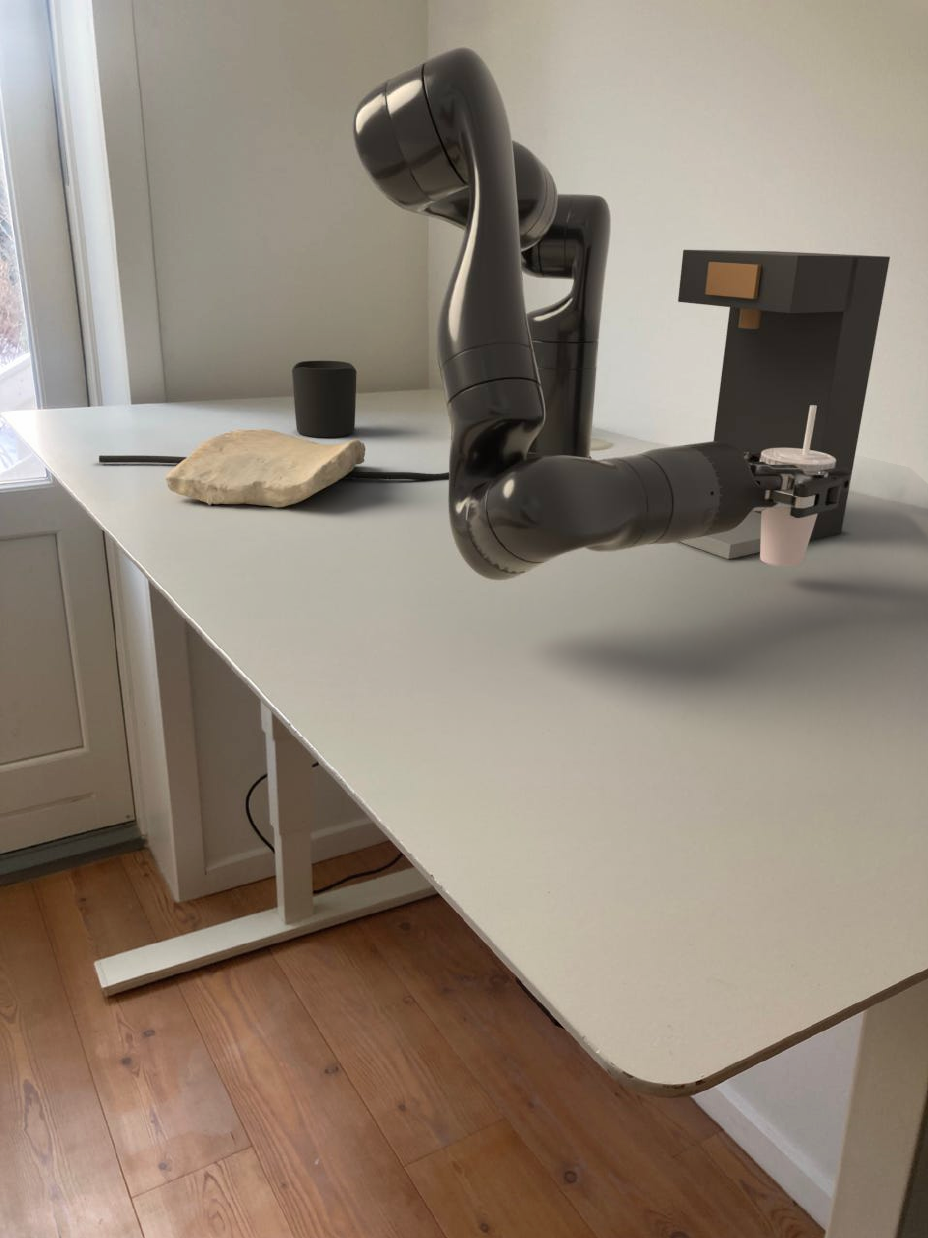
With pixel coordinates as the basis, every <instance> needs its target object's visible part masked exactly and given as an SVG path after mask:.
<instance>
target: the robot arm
mask: <svg viewBox="0 0 928 1238" xmlns="http://www.w3.org/2000/svg"><path fill="white" fill-rule="evenodd" d="M508 117H509V116H508V113H507V109H506V107H505V103H504V99H503V97H502V93H501V91H500V90H499V87H498V85H497V82H496V80H495V78H494V76H493V74H492V72H491V71H490V69H489V66H488V65H487V64H486V62H485V61H484V59H483V58H482V57H481V56H480V54H478V52H476V51H475V50H474V49H471V48H469V47H466V46H464V47H463V46H461V47H456V48H453V49H449V50H447V51H445V52H443V53H441V54H438V55H435V56H434V57H432V58H429V59H427V60H426V61H423V62H420V63H418V64H416V65H415V66H413V67H411V68H408V69H407V70H405V71H403V72H401V73H398V74H397V75H394V76H393V77H391V78H389V79H386V80H385V81H382V82H381V83H379V84H377V85H376V86H375V87H373V88H371V89H370V90H369V91H368V92H367V93H365V95H363V97H362V98H361V99H360V100H359V101H358V103H357V105H356V107H355V111H354V113H353V119H352V138H353V143H354V147H355V151H356V153H357V156H358V159H359V160H360V163H361V165H362V167H363V169H364V171H365V173H366V174H367V176H368V177H369V179H370V181H371V182H372V183H373V184H374V185H375V187H376V188H377V189H378V191H380V193H382V194H383V196H384V197H386V198H387V199H388V200H389V201H390V202H392V203H393V204H394V205H396V206H397V207H399V208H401V209H402V210H406V211H408V212H411V213H413V214H417V215H422V216H426V217H430V218H434V219H438V220H441V221H444V222H446V223H448V224H450V225H453V226H454V227H456V228H458V229H460V230H463V237H462V242H461V244H460V248H459V251H458V254H457V258H456V261H455V264H454V267H453V270H452V273H451V275H450V278H449V281H448V284H447V286H446V290H445V293H444V297H443V300H442V303H441V306H440V310H439V316H438V321H437V329H436V355H437V362H438V368H439V369H438V370H439V373H440V380H441V384H442V390H443V393H444V398H445V399H444V400H445V404H446V409H447V413H448V419H449V422H450V428H451V429H450V431H451V432H450V433H451V435H450V447H449V459H448V460H449V461H448V462H449V463H448V471H447V472H442V473H425V472H409V471H362V470H361V471H360V470H352V471H350V472H349V473H348V474H347V475H345V476H344V477H342V478H341V479H359V480H406V481H407V480H409V481H411V480H412V481H422V482H423V481H424V482H427V481H441V480H448V497H447V498H448V502H447V503H448V518H449V519H448V520H449V526H450V531H451V534H452V538H453V542H454V544H455V546H456V549H457V550H458V552H459V555H460V557H462V559H463V560H464V562H465V563H466V565H468V567H469V568H470V569H471V570H473V571H474V572H475V573H476V574H477V575H479V576H481V577H483V578H485V579H488V580H491V581H507V580H512V579H515V578H517V577H520V576H521V575H524V574H525V573H527V572H529V571H532V570H533V569H535V568H537V567H539V566H541V565H543V564H545V563H548V562H550V561H552V560H553V559H555V558H557V557H560V556H561V555H565V554H567V553H571V552H574V551H578V550H580V549H587V550H589V551H593V552H598V553H603V552H604V553H607V552H616V551H617V552H618V551H622V550H627V549H633V548H638V547H643V546H647V545H666V544H673V543H678V542H679V541H683V540H688V539H693V538H698V537H703V536H707V535H712V534H717V533H722V532H727V531H730V530H732V529H734V528H735V527H737V526H738V525H739V524H740V523H742V522H743V520H744V519H745V518H746V517H747V516H748V514H749V513H750V512H751V511H764V510H765V509H767V508H791V509H790V516H793V517H794V518H803V517H807V516H810V515H814V514H818V513H821V512H825V511H828V510H832V509H835V508H837V505H838V499H839V494H844V493H846V492H848V491H849V492H850V487H849V486H851V481H852V476H853V475H851V470H850V469H848V468H844V467H838V468H832V469H827V470H818V471H804V470H803V469H801V468H799V467H798V466H796V465H768V464H767V463H765V462H759V461H760V458H761V453H758V454H752V453H749V452H747V451H744V452H739V451H738V450H737V449H736V448H735V447H733V446H731V445H730V444H727V443H724V442H720V441H714V440H712V441H705V442H697V443H689V444H683V445H675V446H667V447H660V448H654V449H650V450H647V451H644V452H641V453H637V454H633V455H624V456H616V457H610V458H604V459H598V460H597V459H593V458H592V457H591V449H592V448H591V447H592V435H593V434H592V433H593V423H594V422H593V421H594V409H595V408H594V407H595V395H596V381H597V371H598V370H597V368H598V366H597V365H598V356H599V354H598V353H599V345H600V343H599V342H600V341H599V340H600V329H601V319H602V311H603V298H604V290H605V289H604V288H605V279H606V273H607V265H608V257H609V251H610V250H609V249H610V243H611V242H610V240H611V230H612V226H611V225H612V219H611V210H610V207H609V203H608V202H607V200H606V199H605V198H604V197H603V196H601V195H596V194H581V193H580V194H574V193H573V194H572V193H558V189H557V184H556V182H555V180H554V177H553V175H552V173H551V172H550V170H549V169H548V167H547V166H546V165H545V164H544V163H543V162H542V161H541V159H540V158H539V157H538V156H536V154H535V153H533V152H532V151H531V150H530V149H529V148H528V147H526V146H525V145H523V144H522V143H520V142H518V141H515V140H513V138H512V133H511V127H510V121H509V118H508ZM523 274H525V275H527V276H529V277H532V278H539V279H549V280H550V279H553V280H571V281H572V280H573V282H572V286H571V290H570V292H569V293H568V294H567V295H566V296H565V297H563V298H561V299H560V300H558V301H557V302H554V303H552V304H550V305H548V306H544V307H541V308H538V309H534V310H531V311H529V312H527V309H526V300H525V291H524V279H523ZM187 457H188V456H177V455H176V456H173V455H98V462H99V463H100V464H102V463H103V464H104V463H105V464H108V463H109V464H112V463H113V464H118V463H119V464H120V463H121V464H125V463H126V464H128V463H129V464H134V463H136V464H137V463H138V464H139V463H141V464H146V463H147V464H176V465H178V464H179V463H180V462H182V461H183V460H184V459H186V458H187ZM781 474H788V481H787V487H786V490H784V489H782V484H783V477H782V475H781ZM804 480H812V481H808V482H804V483H803V481H804ZM849 492H848V493H849ZM679 543H680V542H679Z"/></svg>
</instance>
